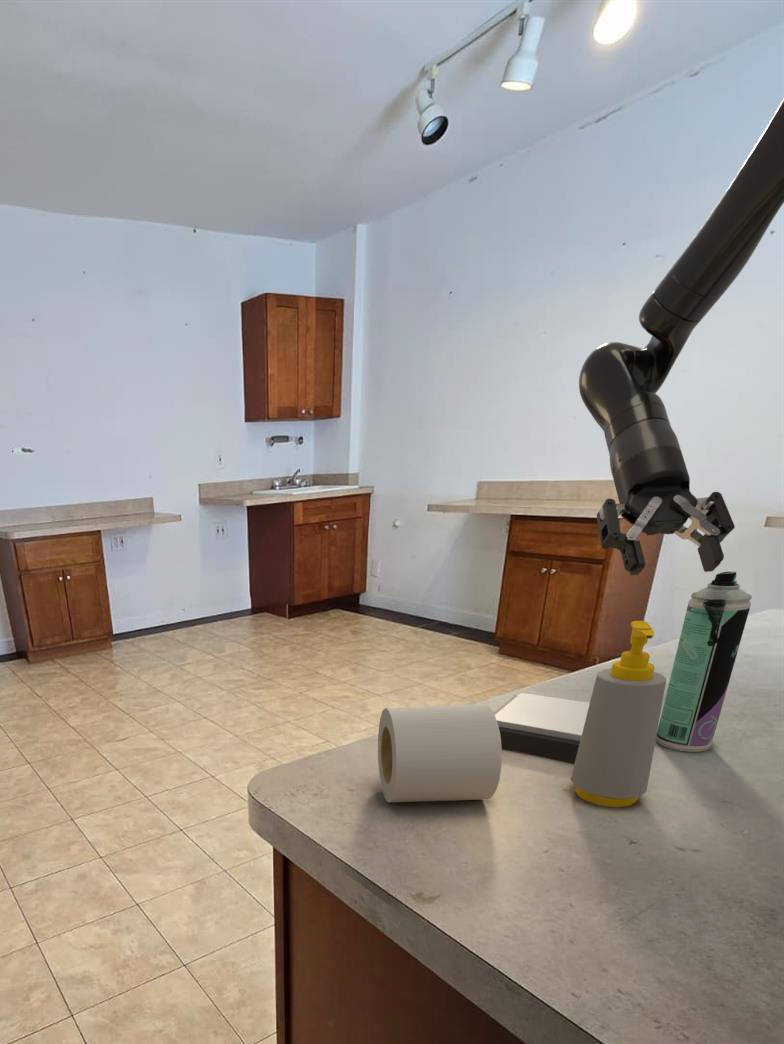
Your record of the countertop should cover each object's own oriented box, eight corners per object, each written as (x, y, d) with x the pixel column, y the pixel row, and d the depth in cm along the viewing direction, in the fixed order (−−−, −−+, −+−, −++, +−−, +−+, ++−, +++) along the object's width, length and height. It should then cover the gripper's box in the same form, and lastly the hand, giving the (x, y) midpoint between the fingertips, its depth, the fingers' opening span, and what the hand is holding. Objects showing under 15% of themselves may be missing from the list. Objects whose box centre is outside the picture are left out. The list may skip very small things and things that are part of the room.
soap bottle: (571, 806, 65) (605, 632, 58) (565, 777, 71) (594, 616, 63) (651, 814, 63) (697, 633, 55) (637, 784, 68) (677, 616, 61)
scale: (645, 733, 80) (651, 709, 79) (620, 772, 71) (626, 746, 70) (512, 711, 90) (515, 689, 89) (475, 743, 81) (478, 720, 80)
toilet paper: (464, 774, 73) (474, 691, 69) (494, 816, 64) (507, 724, 60) (376, 777, 74) (380, 695, 70) (393, 819, 65) (398, 728, 61)
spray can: (717, 753, 74) (768, 575, 65) (661, 750, 76) (704, 576, 67) (702, 736, 78) (748, 567, 70) (650, 733, 80) (689, 568, 72)
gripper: (602, 448, 81) (629, 553, 75) (724, 438, 79) (760, 545, 73) (577, 492, 88) (599, 591, 82) (688, 484, 86) (719, 585, 80)
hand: (675, 569), depth 78 cm, fingers open, 8 cm apart
